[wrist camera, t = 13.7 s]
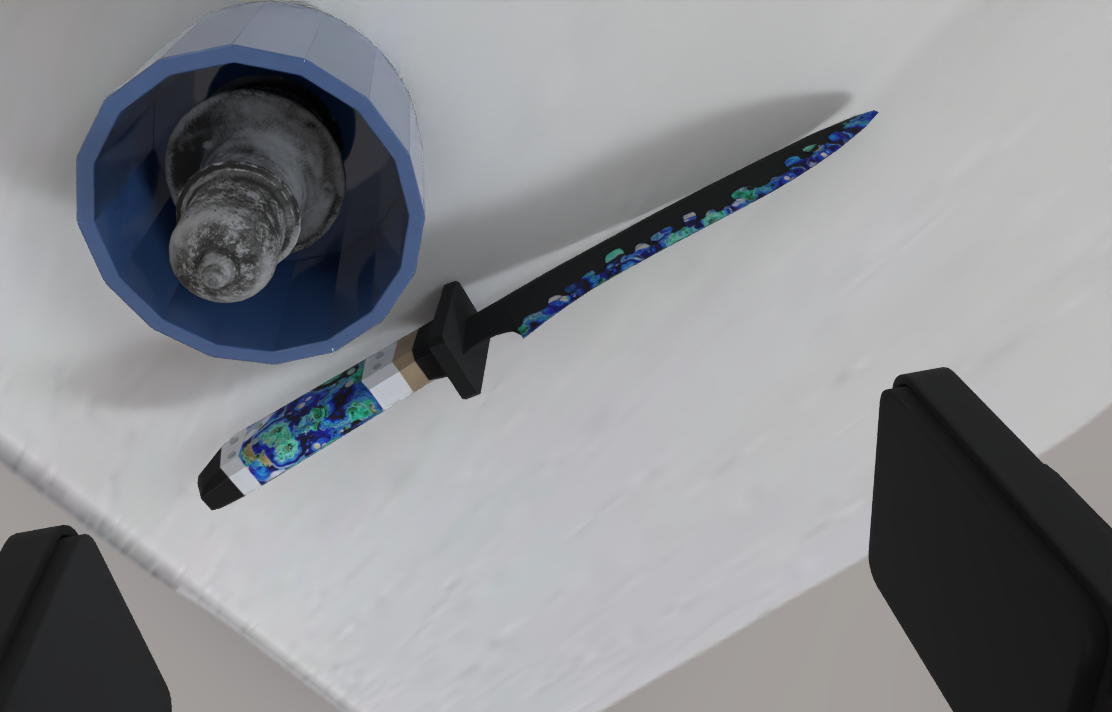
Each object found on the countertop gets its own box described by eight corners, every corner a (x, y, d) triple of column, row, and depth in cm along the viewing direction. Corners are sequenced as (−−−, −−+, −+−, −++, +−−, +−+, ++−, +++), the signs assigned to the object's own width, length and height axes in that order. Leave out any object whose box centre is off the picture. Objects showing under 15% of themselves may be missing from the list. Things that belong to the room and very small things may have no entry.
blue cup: (97, 32, 32) (13, 87, 25) (381, -25, 33) (374, 15, 26) (200, 287, 37) (153, 391, 31) (445, 236, 38) (453, 327, 31)
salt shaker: (374, 196, 36) (360, 345, 26) (228, 239, 36) (155, 406, 26) (316, 44, 33) (274, 144, 23) (157, 92, 33) (42, 213, 23)
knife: (220, 464, 40) (211, 528, 36) (179, 412, 39) (166, 473, 35) (855, 153, 41) (914, 183, 37) (840, 88, 39) (900, 113, 35)
